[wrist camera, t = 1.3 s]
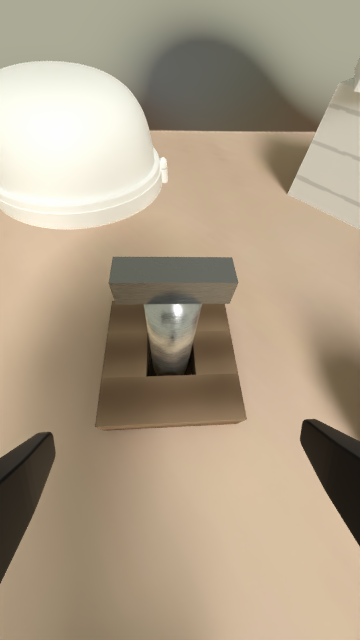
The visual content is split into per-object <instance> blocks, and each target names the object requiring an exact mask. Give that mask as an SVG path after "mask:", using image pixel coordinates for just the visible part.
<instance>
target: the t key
mask: <svg viewBox="0 0 360 640" xmlns="http://www.w3.org/2000/svg"><path fill="white" fill-rule="evenodd" d="M237 284H238V280H237V276H236V272H235V268H234V263H233V259H232V258H221V257H113V260H112V266H111V273H110V279H109V285H110V288H111V291H112V294H113V297H114V300H115V303H116V305H134V304H144V309H145V316H146V323H147V329H148V336H149V343H150V350H151V356H152V363H153V369H154V371H155V373H156V375H157V376H175V375H184V373H185V372H186V369H187V365H188V361H189V357H190V353H191V348H192V344H193V340H194V336H195V331H196V327H197V323H198V319H199V315H200V310H201V306H202V304H230V301H231V299H232V296H233V294H234V292H235V289H236V287H237Z"/></svg>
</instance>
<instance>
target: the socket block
mask: <svg viewBox="0 0 360 640" xmlns="http://www.w3.org/2000/svg"><path fill="white" fill-rule="evenodd" d="M149 346H150V343H149V336H148V329H147V323H146V316H145V309H144V304H134V305H116V303H115V301H112V306H111V314H110V321H109V328H108V336H107V343H106V350H105V358H104V365H103V372H102V380H101V387H100V394H99V402H98V409H97V416H96V424H95V427H97V428H100V429H102V430H121V429H141V428H162V427H182V426H202V425H222V424H237V423H239V422H242V421H244V420H246V419H247V418H246V413H245V408H244V402H243V397H242V392H241V387H240V382H239V376H238V371H237V366H236V361H235V355H234V350H233V345H232V340H231V335H230V329H229V324H228V319H227V314H226V308H225V304H202V306H201V310H200V315H199V319H198V323H197V327H196V331H195V336H194V340H193V344H192V348H191V353H190V357H191V370H192V375H175V376H149Z"/></svg>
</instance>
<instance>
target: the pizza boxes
mask: <svg viewBox="0 0 360 640" xmlns="http://www.w3.org/2000/svg"><path fill="white" fill-rule="evenodd" d="M287 195H289V196H291V197H293V198H295V199H298V200H300V201H302V202H304V203H306V204H308V205H310V206H312V207H314V208H316V209H318V210H320V211H322V212H324V213H326V214H328V215H330V216H332V217H334V218H336V219H338V220H340V221H343V222H345V223H347V224H349V225H351V226H353V227H355V228H357V229H359V230H360V58H359V60H358V63H357V65H356V67H355V75H354V78H352V79H349V80H346V81H343V82H341V83H339V84H338V86H337V89H336V91H335V93H334V95H333V97H332V99H331V102H330V104H329V106H328V108H327V110H326V112H325V114H324V117H323V119H322V121H321V123H320V125H319V127H318V129H317V132H316V134H315V136H314V138H313V140H312V142H311V144H310V147H309V149H308V151H307V153H306V155H305V157H304V160H303V162H302V164H301V166H300V168H299V170H298V172H297V175H296V177H295V179H294V181H293V183H292V185H291V187H290V190H289V192H288V194H287Z"/></svg>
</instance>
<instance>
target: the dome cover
mask: <svg viewBox="0 0 360 640" xmlns="http://www.w3.org/2000/svg"><path fill="white" fill-rule="evenodd" d="M166 182H168V173H167V160H166V159H165V158H164V157H162V158H161V159H159V155H158V153H157V151H156V150H155V148H154V147H153V146H152V140H151V135H150V131H149V127H148V124H147V121H146V118H145V116H144V113H143V110H142V108H141V106H140V105H139V103H138V101H137V100H136V98H135V97H134V95H133V94H132V93H131V92H130V90H129V89H128V88H127V87H126V86H125V85H124V84H123V83H121V82H120V81H119V80H118V79H116V78H115V77H113V76H111V75H109V74H108V73H106V72H103V71H101V70H99V69H96V68H93V67H89V66H86V65H82V64H77V63H70V62H59V61H37V62H27V63H20V64H15V65H11V66H8V67H5V68H2V69H0V209H1V210H2V211H3V212H4V213H5V214H7V215H8V216H10V217H12V218H14V219H16V220H18V221H20V222H23V223H26V224H29V225H33V226H37V227H43V228H51V229H84V228H92V227H98V226H103V225H107V224H111V223H114V222H117V221H121V220H123V219H126V218H128V217H130V216H132V215H135V214H136V213H138V212H140V211H142V210H143V209H144V208H146V207H147V206H148V205H150V204H151V203H152V202H153V201H154V200H155V199H156V197H157V196H158V194H159V192H160V190H161V188H162V183H166Z"/></svg>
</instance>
